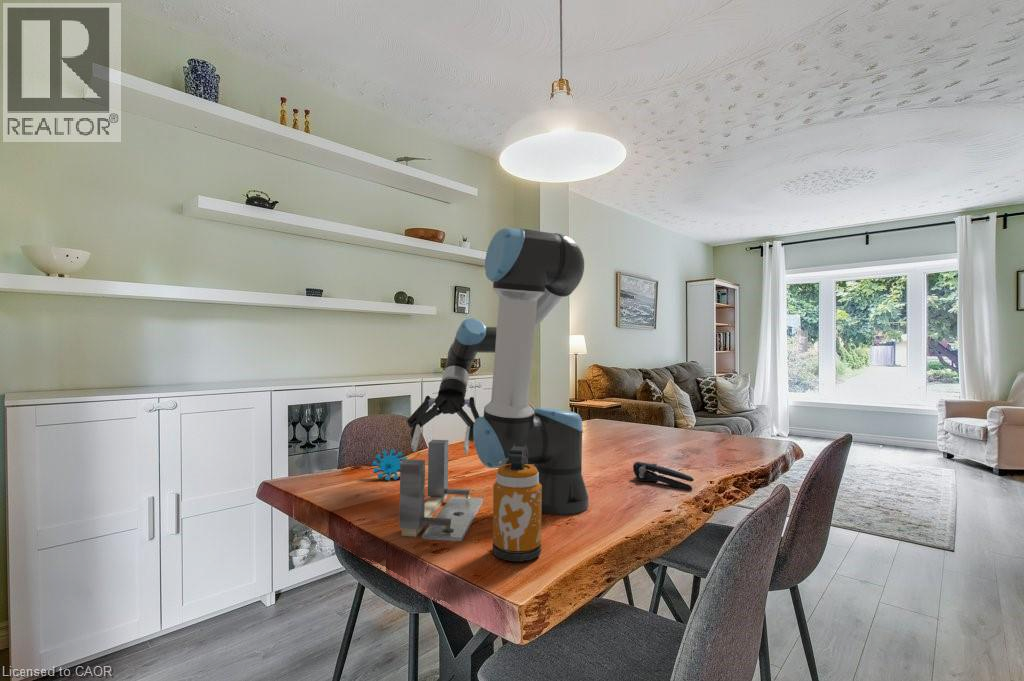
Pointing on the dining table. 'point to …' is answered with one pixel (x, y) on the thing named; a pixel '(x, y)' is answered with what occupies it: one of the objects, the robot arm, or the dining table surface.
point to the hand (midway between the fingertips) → (439, 449)
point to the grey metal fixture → (417, 500)
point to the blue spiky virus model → (388, 464)
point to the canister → (517, 508)
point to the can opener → (646, 475)
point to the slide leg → (440, 470)
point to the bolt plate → (454, 519)
